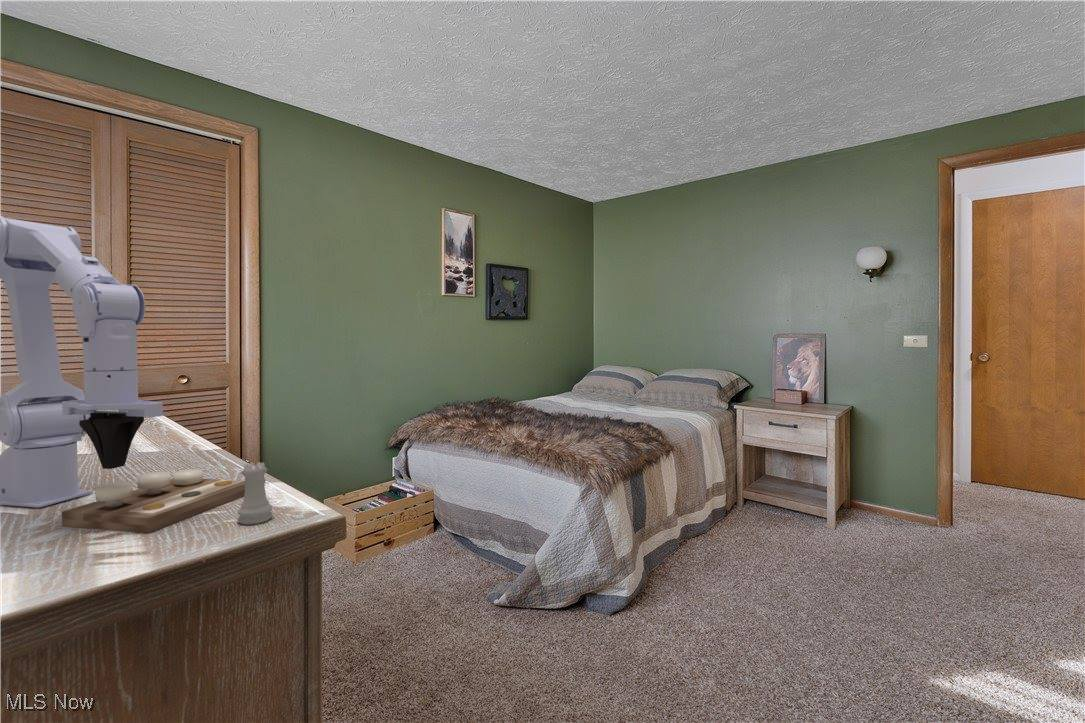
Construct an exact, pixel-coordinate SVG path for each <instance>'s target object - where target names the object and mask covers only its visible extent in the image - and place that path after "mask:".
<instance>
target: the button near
mask: <svg viewBox="0 0 1085 723" xmlns="http://www.w3.org/2000/svg"><path fill="white" fill-rule="evenodd" d="M133 490H134V489H133V482H131V481H116V482H110V483H104V484H101V485H97V486H96V487H94V493H95V494H94V495H95V497H94V498H95V499H94V500H95V502H96V501H106V507H117V506H121V505H123V499H124V498H127V497H130V496H132V495H133Z"/></svg>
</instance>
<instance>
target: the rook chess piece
mask: <svg viewBox="0 0 1085 723" xmlns="http://www.w3.org/2000/svg"><path fill="white" fill-rule="evenodd" d="M265 465H266V464H265V462H260V461H259V462H258V461H257V462H256V465H255V462H250V463H245V464H244V466H243V467H244V468H243V469H242V471H241V472H240V473H241V475H243V476H244V480H243V481H244V484H245V494H244V496H243V501H242V503H241V505H240V508H238V509H237V515H239V517H237V519H236V521H238V523H239V524H241V525H244V526H253V525H259V524H263V523H266V522H268V521H270V520H271V518H272V517H273V515H274V513H272V512H271V511H272V510H273V505H272V504H270V503H269V501H270V500H268V498H267V493H266V489H265V488H266V487H265V486H266V484H265V482H267V479H265V475H266V473H267V472H268V468H267V467H266V466H265ZM269 519H270V520H269Z"/></svg>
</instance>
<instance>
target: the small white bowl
mask: <svg viewBox="0 0 1085 723" xmlns="http://www.w3.org/2000/svg"><path fill="white" fill-rule="evenodd" d="M172 479H173V484H174V485H182V486H187V487H189V486H192V485H195V483H198V482H201V481H203V479H204V470H203V469H201V468H190V469H189V468H188V469H182V470H178V471H175V472H173V473H172Z"/></svg>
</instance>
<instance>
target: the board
mask: <svg viewBox="0 0 1085 723" xmlns="http://www.w3.org/2000/svg"><path fill="white" fill-rule="evenodd" d="M244 481H245V480H233V479H214V478H203V481H201V482H198V483H195V485H192V486H189V487H187V486H182V485H174V484H173V478H170V484H169V485H166V486H163V487H162V492H161V493H159V494H153V495H148V494H147V489H139V488H136V489H133V495H132V496H130V497H127V498H124V499H123V505H121V506H117V507H106V501H96V500H95V501H93V502H90V503H89V502H88V503H86V504H83V505H79V506H76V507H73V508H69V509H66V510H62V511H61V526H62V527H71V528H82V529H96V530H107V531H120V532H128V533H129V532H133V533H144V534H151V533H153V532H156V531H159V530H160V529H161V530H162V529H163V528H166V527H168V526H172V525H174V524H176V523H179V522H181V521H183V520H186V519H189V518H191V517H194V516H196V515H199V514H201V513H204V512H207V511H209V510H212V509H215V508H217V507H220V506H222V505H225V504H227V503H230V502H232V501H235V500H237V499H239V498H242V497H243V498H244V494H245V484H244Z"/></svg>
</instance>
